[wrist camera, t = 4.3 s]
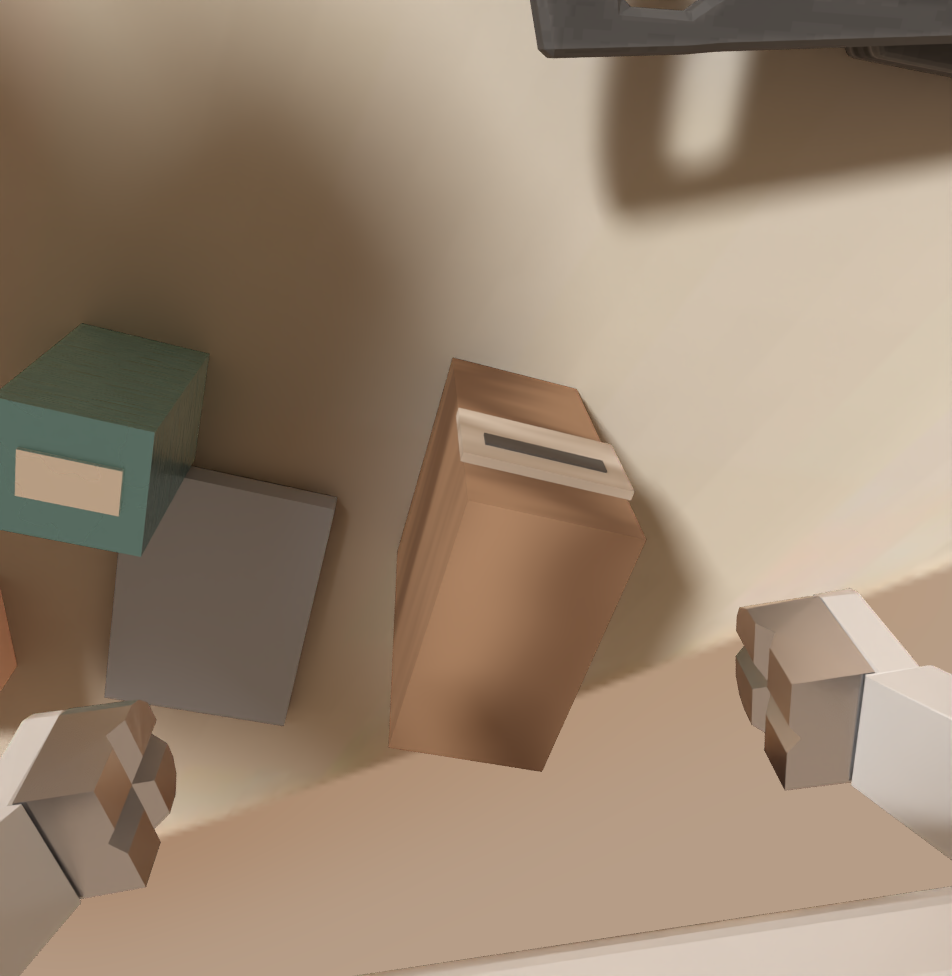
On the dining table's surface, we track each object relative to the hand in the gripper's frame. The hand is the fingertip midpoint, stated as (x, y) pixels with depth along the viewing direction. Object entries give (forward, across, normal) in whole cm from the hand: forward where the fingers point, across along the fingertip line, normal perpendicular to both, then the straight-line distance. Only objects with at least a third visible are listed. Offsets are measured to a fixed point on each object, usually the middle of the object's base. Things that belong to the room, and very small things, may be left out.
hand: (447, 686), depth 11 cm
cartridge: (+21, +11, +2) cm, 24 cm away
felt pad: (+21, +11, +12) cm, 26 cm away
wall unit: (+21, -1, +8) cm, 22 cm away
